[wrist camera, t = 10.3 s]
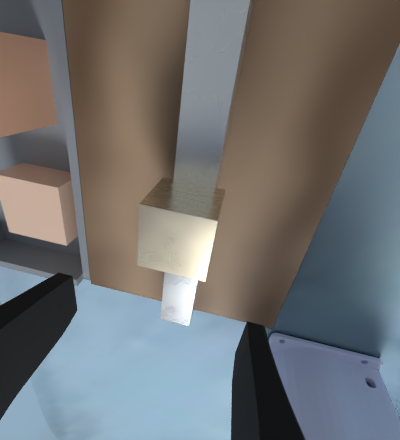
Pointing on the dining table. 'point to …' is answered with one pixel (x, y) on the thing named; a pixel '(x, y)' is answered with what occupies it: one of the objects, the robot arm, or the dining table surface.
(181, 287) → the grey bar with block
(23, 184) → the tile
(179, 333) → the dining table surface
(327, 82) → the board
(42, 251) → the box
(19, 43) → the tile
